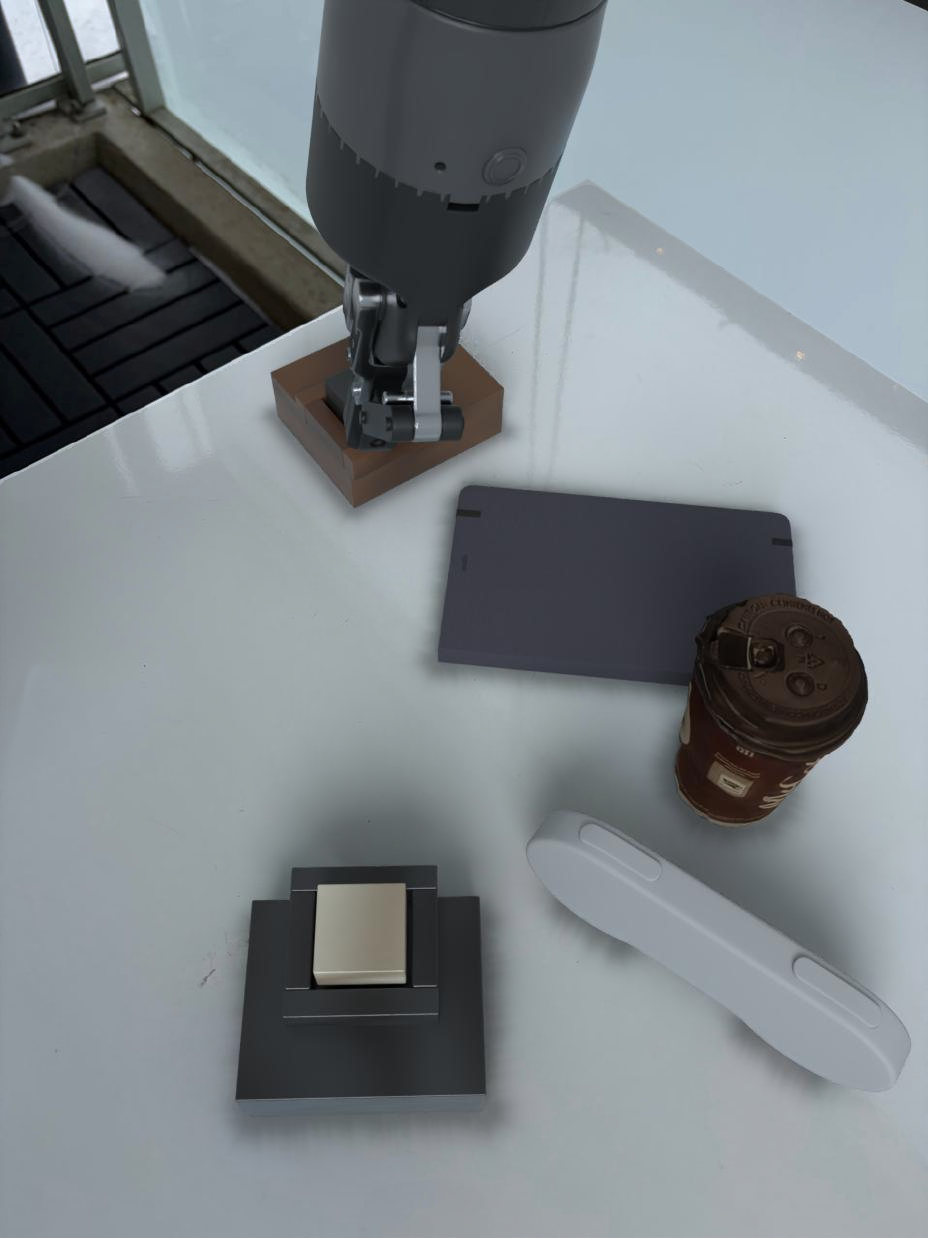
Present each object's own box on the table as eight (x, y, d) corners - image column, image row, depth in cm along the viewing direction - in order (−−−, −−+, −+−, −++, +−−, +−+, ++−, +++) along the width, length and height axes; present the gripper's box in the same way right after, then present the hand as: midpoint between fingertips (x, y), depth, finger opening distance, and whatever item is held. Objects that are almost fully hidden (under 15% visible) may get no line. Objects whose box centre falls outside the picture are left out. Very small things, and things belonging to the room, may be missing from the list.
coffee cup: (618, 766, 61) (657, 644, 50) (713, 680, 64) (770, 548, 53) (739, 876, 58) (809, 771, 47) (833, 780, 61) (919, 661, 50)
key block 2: (248, 1117, 51) (227, 1094, 46) (265, 908, 56) (247, 867, 51) (483, 1111, 51) (487, 1088, 46) (476, 904, 56) (480, 863, 51)
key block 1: (358, 524, 70) (352, 462, 65) (272, 419, 75) (260, 354, 70) (512, 443, 74) (517, 379, 69) (420, 348, 79) (419, 282, 74)
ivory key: (317, 986, 49) (312, 973, 47) (321, 899, 51) (317, 884, 49) (406, 984, 49) (405, 971, 47) (406, 897, 51) (405, 882, 49)
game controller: (879, 1066, 52) (946, 1027, 46) (859, 1108, 51) (925, 1074, 44) (542, 844, 58) (555, 779, 51) (518, 878, 57) (529, 816, 50)
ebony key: (360, 442, 67) (358, 418, 65) (326, 403, 68) (323, 379, 67) (414, 415, 68) (413, 391, 66) (379, 377, 70) (378, 353, 68)
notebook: (437, 662, 65) (796, 697, 64) (437, 648, 63) (804, 684, 62) (459, 498, 72) (783, 528, 71) (460, 483, 70) (790, 513, 69)
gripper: (293, -72, 33) (267, 312, 48) (346, 264, 28) (297, 576, 43) (527, -48, 35) (430, 314, 50) (618, 270, 30) (479, 567, 45)
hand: (369, 435), depth 46 cm, fingers closed
